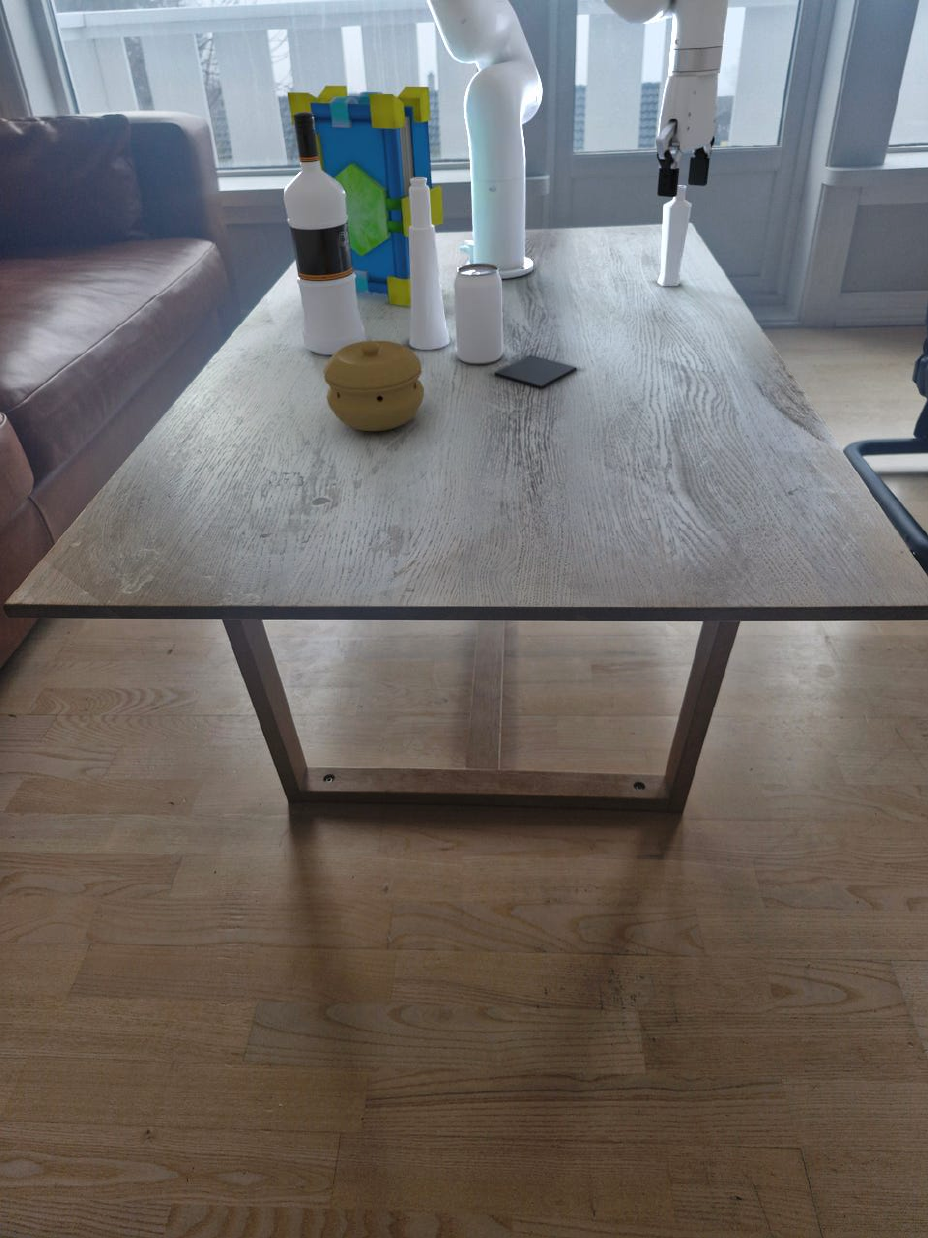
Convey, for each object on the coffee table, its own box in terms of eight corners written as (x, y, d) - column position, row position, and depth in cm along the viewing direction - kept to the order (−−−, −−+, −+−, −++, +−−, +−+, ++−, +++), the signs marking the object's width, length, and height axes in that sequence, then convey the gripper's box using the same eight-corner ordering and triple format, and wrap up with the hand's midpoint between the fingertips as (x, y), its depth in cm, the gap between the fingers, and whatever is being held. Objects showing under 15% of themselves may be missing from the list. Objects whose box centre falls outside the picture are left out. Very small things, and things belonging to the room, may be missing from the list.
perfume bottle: (681, 278, 140) (693, 183, 130) (683, 286, 136) (696, 188, 127) (654, 279, 140) (664, 183, 131) (656, 286, 137) (667, 189, 127)
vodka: (300, 340, 122) (260, 111, 104) (358, 331, 125) (330, 105, 106) (312, 360, 115) (272, 118, 97) (373, 350, 118) (346, 112, 99)
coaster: (494, 375, 108) (494, 372, 108) (530, 357, 113) (530, 354, 113) (541, 388, 104) (541, 385, 104) (576, 369, 109) (576, 367, 108)
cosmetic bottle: (402, 348, 118) (387, 181, 104) (419, 334, 122) (407, 173, 109) (439, 351, 116) (429, 183, 102) (455, 338, 120) (448, 174, 107)
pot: (354, 399, 104) (344, 321, 98) (439, 407, 101) (434, 327, 95) (314, 437, 95) (300, 355, 89) (406, 447, 92) (398, 363, 86)
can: (508, 350, 115) (507, 263, 108) (494, 367, 111) (493, 276, 103) (466, 347, 117) (462, 261, 110) (451, 363, 112) (446, 274, 105)
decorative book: (407, 311, 132) (388, 95, 113) (301, 294, 142) (269, 93, 123) (453, 287, 141) (443, 84, 122) (351, 273, 151) (328, 83, 132)
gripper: (700, 57, 125) (688, 179, 136) (642, 68, 116) (633, 198, 126) (745, 56, 121) (728, 182, 132) (689, 67, 111) (675, 202, 122)
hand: (682, 190), depth 129 cm, fingers open, 9 cm apart
